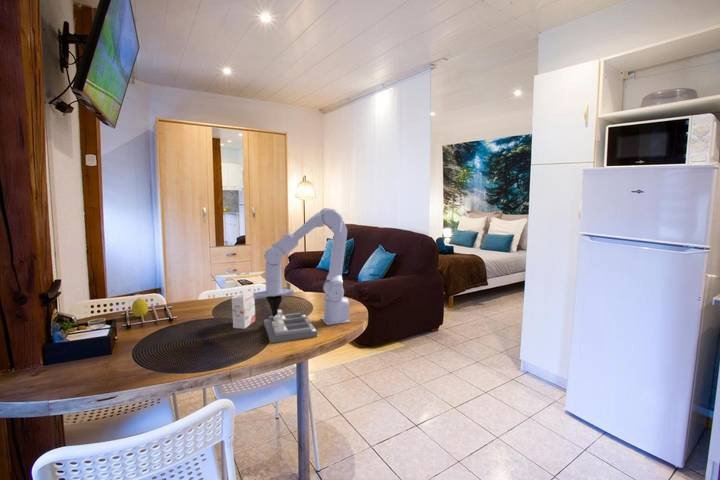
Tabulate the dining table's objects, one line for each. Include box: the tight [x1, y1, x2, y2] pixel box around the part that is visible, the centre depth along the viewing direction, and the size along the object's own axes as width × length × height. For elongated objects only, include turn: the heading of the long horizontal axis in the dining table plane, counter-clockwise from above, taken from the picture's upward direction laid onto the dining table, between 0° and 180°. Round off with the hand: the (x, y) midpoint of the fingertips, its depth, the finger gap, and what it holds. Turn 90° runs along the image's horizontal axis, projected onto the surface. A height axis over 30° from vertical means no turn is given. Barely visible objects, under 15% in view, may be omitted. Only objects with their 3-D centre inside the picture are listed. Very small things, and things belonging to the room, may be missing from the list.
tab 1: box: [273, 309, 286, 321], centre depth 132 cm, size 4×4×4 cm
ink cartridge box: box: [231, 284, 256, 330], centre depth 133 cm, size 9×5×15 cm, turn 168°
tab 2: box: [272, 315, 285, 329], centre depth 126 cm, size 4×4×4 cm
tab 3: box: [274, 320, 288, 334], centre depth 121 cm, size 4×4×4 cm
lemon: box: [131, 297, 149, 318], centre depth 140 cm, size 6×6×8 cm
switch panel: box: [263, 312, 318, 344], centre depth 128 cm, size 16×18×3 cm
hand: (274, 315), depth 131 cm, fingers closed
